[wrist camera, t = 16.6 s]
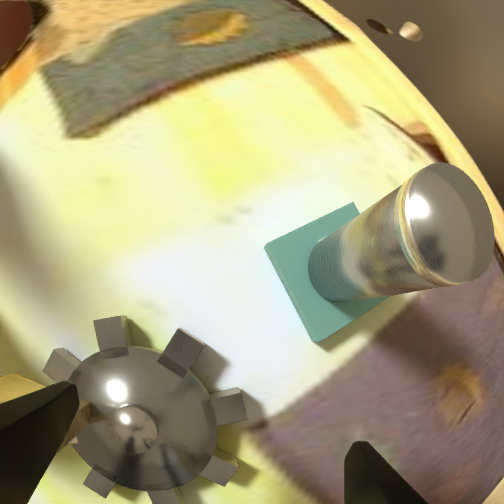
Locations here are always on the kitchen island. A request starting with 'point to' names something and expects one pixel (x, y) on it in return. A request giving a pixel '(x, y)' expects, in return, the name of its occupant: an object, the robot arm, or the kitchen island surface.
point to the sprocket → (141, 413)
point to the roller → (408, 240)
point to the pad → (298, 282)
